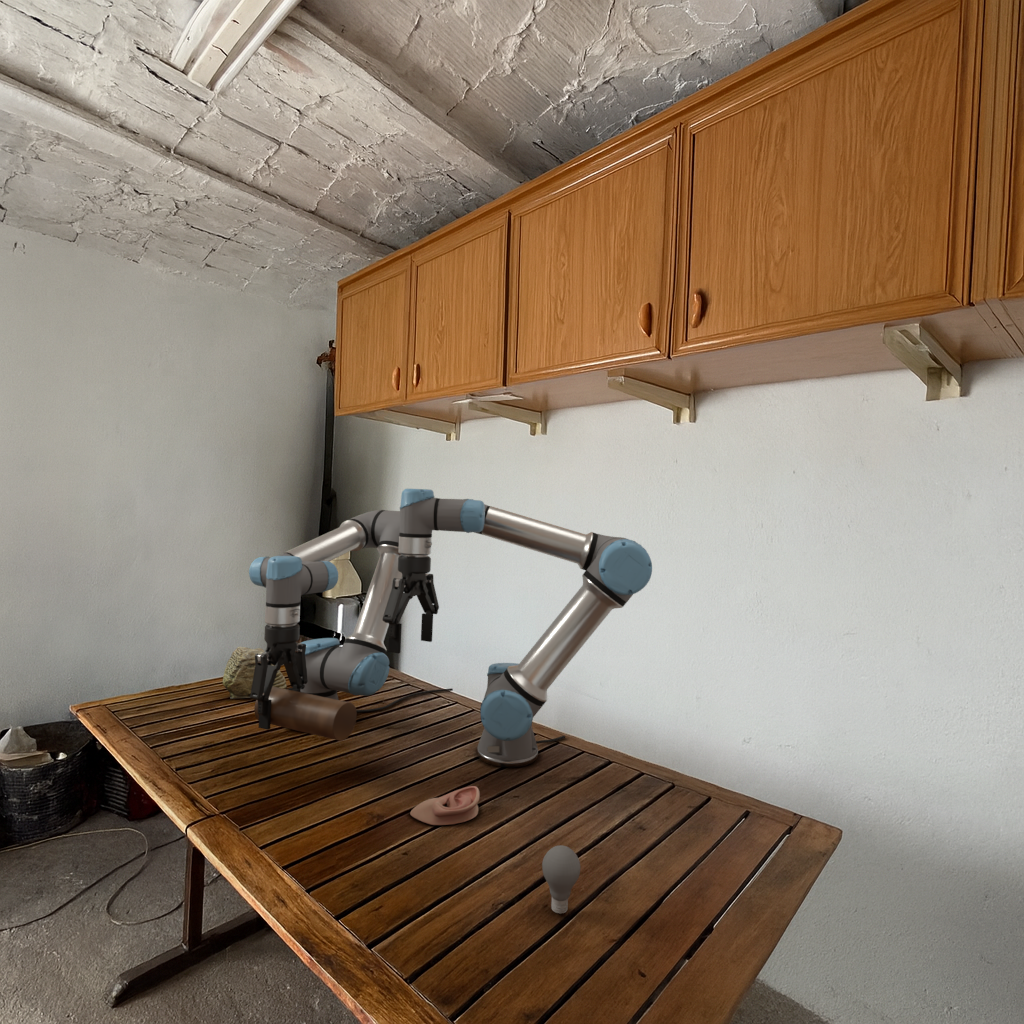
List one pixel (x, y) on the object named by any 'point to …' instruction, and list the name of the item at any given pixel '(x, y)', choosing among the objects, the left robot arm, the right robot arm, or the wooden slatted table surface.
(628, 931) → the wooden slatted table surface
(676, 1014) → the wooden slatted table surface
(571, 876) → the light bulb
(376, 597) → the left robot arm
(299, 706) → the brown wooden cylinder
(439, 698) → the wooden slatted table surface
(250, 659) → the fossil
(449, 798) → the anatomical model
